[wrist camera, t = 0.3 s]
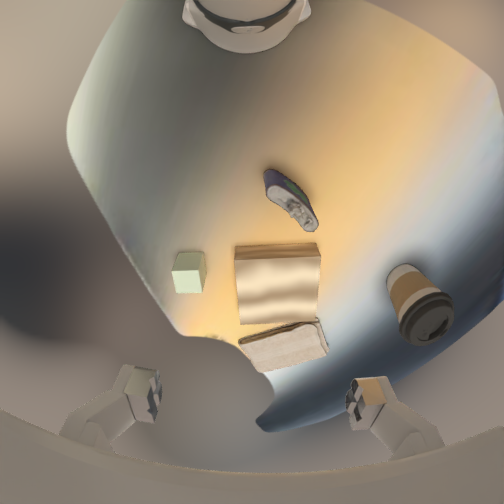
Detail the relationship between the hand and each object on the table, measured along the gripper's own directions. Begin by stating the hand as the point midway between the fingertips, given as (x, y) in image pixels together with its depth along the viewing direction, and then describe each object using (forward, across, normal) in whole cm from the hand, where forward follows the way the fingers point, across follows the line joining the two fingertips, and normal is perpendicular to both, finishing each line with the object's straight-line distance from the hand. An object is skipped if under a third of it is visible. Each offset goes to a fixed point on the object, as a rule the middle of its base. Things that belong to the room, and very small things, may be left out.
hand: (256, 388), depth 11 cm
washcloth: (+44, -10, +34) cm, 56 cm away
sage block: (+40, +10, +14) cm, 44 cm away
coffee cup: (+41, -31, +15) cm, 54 cm away
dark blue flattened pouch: (+39, -5, -1) cm, 40 cm away
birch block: (+41, -5, +16) cm, 45 cm away
